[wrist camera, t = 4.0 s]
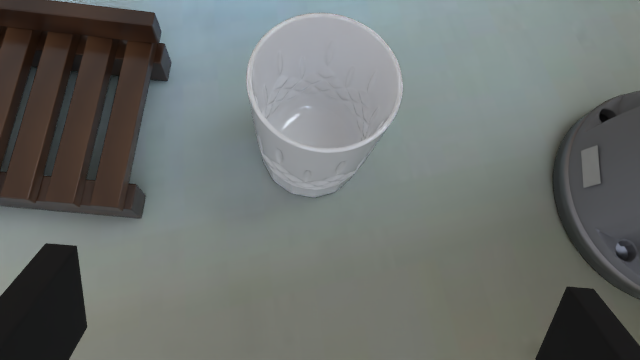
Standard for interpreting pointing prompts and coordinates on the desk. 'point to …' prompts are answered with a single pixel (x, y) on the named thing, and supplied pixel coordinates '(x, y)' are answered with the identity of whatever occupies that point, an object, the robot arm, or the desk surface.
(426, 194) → the desk surface
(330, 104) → the white cup
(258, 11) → the desk surface
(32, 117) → the slatted wooden rack
